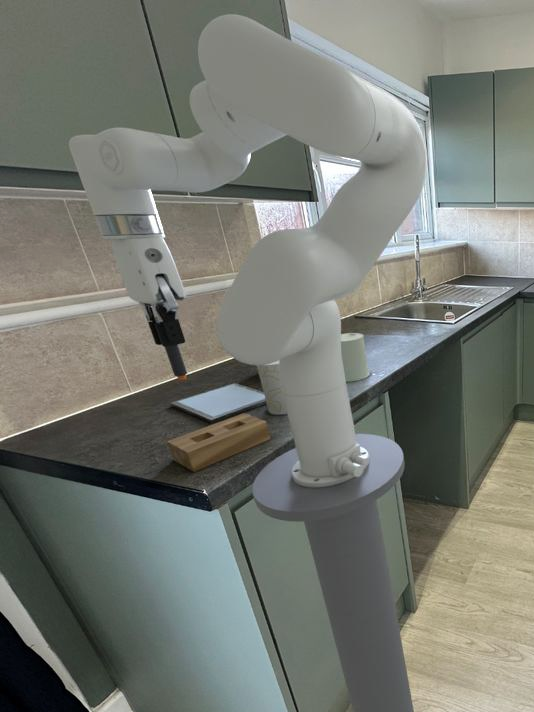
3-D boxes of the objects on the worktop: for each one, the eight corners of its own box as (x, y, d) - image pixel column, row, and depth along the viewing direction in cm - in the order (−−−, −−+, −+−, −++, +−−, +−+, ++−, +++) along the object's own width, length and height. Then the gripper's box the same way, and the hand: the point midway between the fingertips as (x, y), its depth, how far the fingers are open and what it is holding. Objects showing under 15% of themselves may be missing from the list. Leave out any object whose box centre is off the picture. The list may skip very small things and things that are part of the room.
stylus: (190, 378, 73) (168, 310, 69) (178, 381, 72) (155, 312, 67) (185, 376, 74) (163, 309, 70) (174, 379, 73) (150, 311, 68)
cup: (260, 413, 96) (247, 364, 92) (286, 399, 104) (274, 353, 99) (290, 415, 94) (278, 365, 90) (314, 401, 102) (303, 354, 97)
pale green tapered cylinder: (376, 371, 121) (369, 331, 117) (357, 383, 113) (350, 340, 109) (348, 370, 124) (341, 330, 119) (328, 380, 115) (320, 339, 111)
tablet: (277, 399, 104) (276, 395, 103) (211, 423, 92) (210, 419, 91) (235, 386, 114) (234, 382, 113) (171, 406, 102) (170, 402, 101)
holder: (270, 438, 84) (266, 421, 83) (194, 472, 73) (187, 452, 72) (249, 429, 88) (244, 412, 87) (173, 460, 77) (166, 441, 76)
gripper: (183, 227, 63) (217, 343, 70) (141, 229, 71) (175, 334, 78) (120, 228, 57) (165, 356, 64) (82, 230, 65) (125, 343, 72)
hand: (170, 343), depth 71 cm, fingers closed on stylus, 1 cm apart
